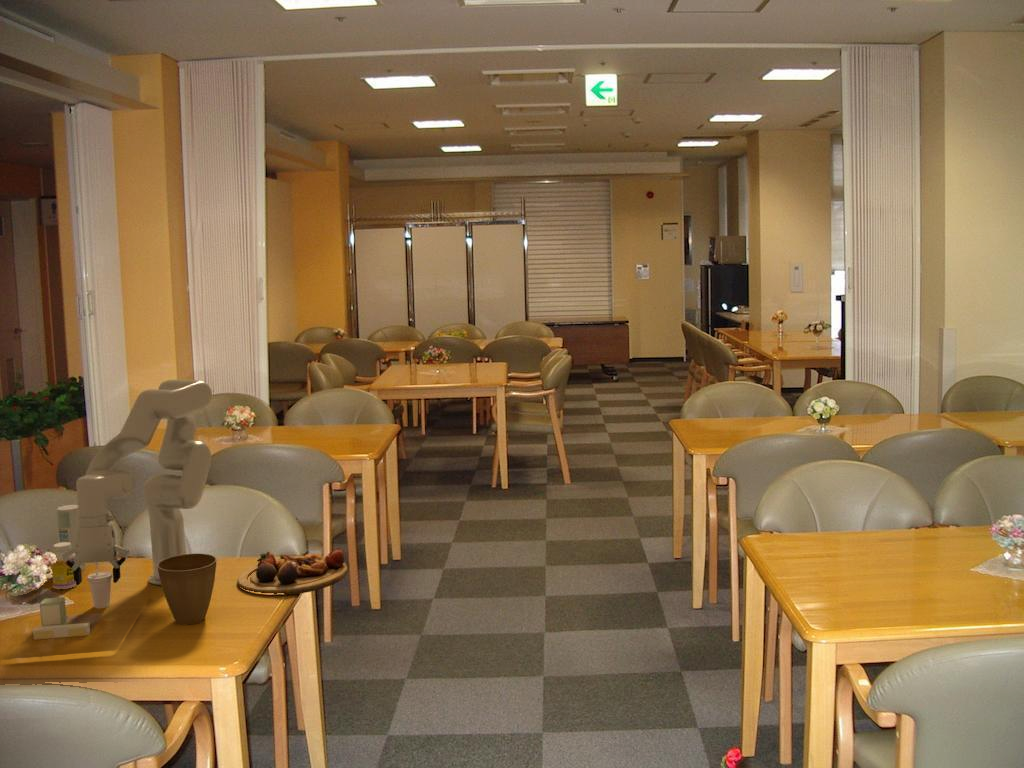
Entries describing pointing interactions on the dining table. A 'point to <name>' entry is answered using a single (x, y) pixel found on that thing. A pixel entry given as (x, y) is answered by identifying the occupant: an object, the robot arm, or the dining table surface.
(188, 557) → the plant pot
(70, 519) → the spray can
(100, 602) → the smoothie
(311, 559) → the wooden plate with food
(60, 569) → the supplement bottle
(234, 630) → the dining table surface
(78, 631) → the rail
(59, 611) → the tea box
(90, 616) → the shelf board
